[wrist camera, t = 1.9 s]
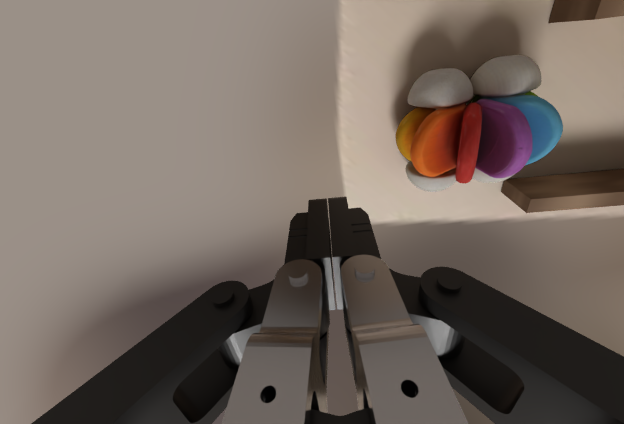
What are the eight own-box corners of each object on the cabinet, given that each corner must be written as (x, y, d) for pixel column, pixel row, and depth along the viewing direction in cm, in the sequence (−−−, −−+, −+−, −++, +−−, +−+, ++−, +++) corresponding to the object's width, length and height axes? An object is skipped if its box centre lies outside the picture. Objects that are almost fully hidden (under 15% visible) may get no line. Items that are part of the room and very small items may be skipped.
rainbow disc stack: (389, 75, 20) (421, 91, 14) (533, 47, 19) (640, 50, 12) (392, 180, 24) (417, 228, 18) (509, 163, 23) (578, 207, 17)
